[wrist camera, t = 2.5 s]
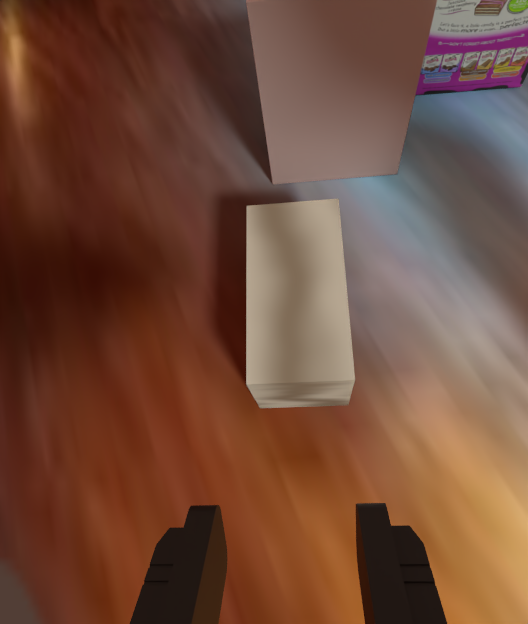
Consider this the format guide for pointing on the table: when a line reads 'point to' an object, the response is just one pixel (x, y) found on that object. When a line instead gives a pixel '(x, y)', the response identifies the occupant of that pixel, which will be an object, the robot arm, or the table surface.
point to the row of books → (337, 83)
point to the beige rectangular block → (297, 306)
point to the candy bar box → (475, 46)
